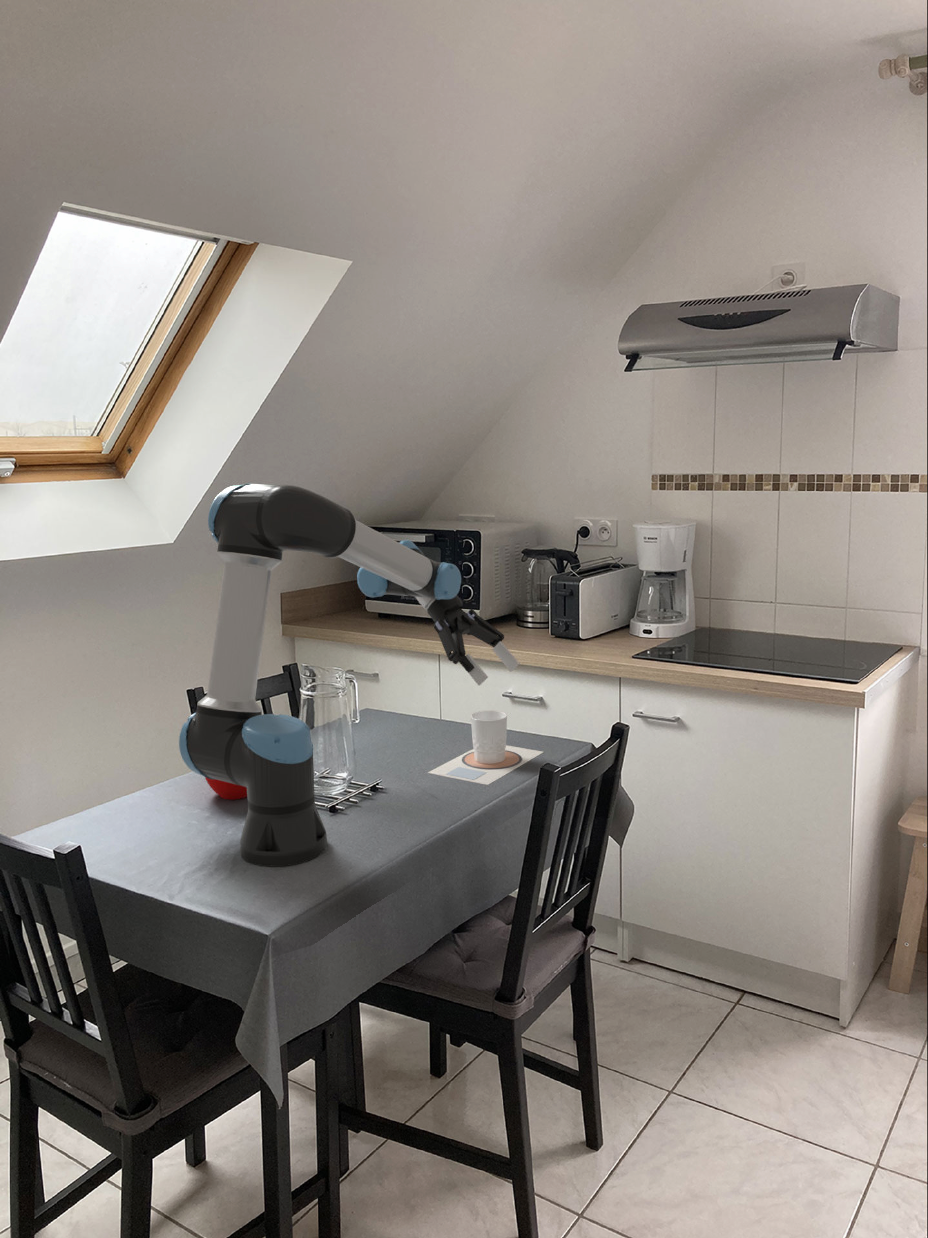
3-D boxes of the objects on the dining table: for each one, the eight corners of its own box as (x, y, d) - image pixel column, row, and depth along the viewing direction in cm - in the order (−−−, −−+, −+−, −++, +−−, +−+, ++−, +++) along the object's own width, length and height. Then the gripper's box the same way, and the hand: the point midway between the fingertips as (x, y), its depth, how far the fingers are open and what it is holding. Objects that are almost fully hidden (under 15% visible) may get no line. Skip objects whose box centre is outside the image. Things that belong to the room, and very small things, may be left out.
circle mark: (484, 773, 214) (483, 773, 214) (450, 757, 225) (450, 756, 225) (534, 761, 221) (534, 760, 221) (499, 746, 232) (499, 745, 232)
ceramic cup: (296, 788, 210) (293, 742, 208) (223, 810, 199) (219, 761, 197) (263, 773, 220) (261, 729, 218) (191, 794, 209) (188, 747, 207)
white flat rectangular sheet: (487, 788, 208) (487, 784, 207) (427, 776, 216) (427, 772, 216) (543, 755, 227) (543, 751, 227) (486, 745, 235) (486, 741, 235)
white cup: (508, 765, 219) (507, 720, 217) (471, 765, 219) (470, 720, 217) (507, 753, 226) (506, 710, 224) (471, 754, 227) (471, 710, 225)
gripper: (459, 602, 235) (517, 672, 230) (396, 621, 215) (458, 698, 210) (478, 581, 232) (537, 652, 227) (416, 598, 211) (480, 676, 206)
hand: (499, 674), depth 218 cm, fingers open, 13 cm apart
